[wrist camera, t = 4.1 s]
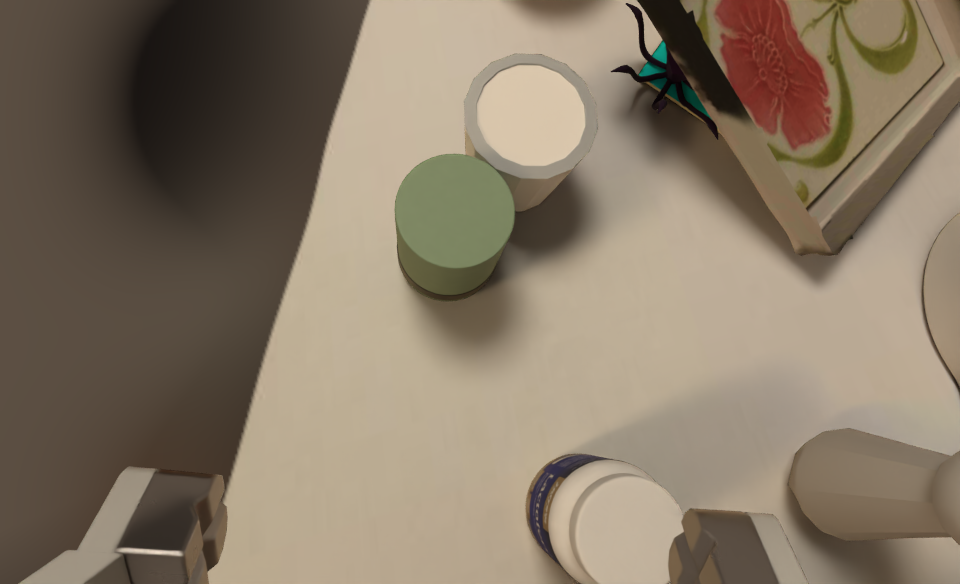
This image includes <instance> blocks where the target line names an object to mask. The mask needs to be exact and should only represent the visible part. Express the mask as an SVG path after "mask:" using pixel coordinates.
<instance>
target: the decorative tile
mask: <svg viewBox="0 0 960 584" xmlns="http://www.w3.org/2000/svg"><path fill="white" fill-rule="evenodd" d="M637 1H638V2H639V3H640V5H641V6H642V8H643V9H644V11H645V12H646V14H647V15H648V17H649V18H650V20H651V21H652V23H653V25H654V26H655V28H656V30H657V31H658V33H659V34H660V36H661V37H662V39H663V41H664V43H665V44H666V46H667V48H668V49H669V51H670V53H671V54H672V56H673V58H674V60H675V61H676V63H677V64H678V65H679V67H680V68H681V70H682V72H683V73H684V75H685V76H686V78H687V80H688V81H689V83H690V84H691V86H692V88H693V89H694V91H695V93H696V94H697V96H698V98H699V100H700V101H701V103H702V104H703V106H704V108H705V109H706V111H707V113H708V114H709V116H710V118H711V119H712V120H713V121H714V122H715V124H716V126H717V128H718V129H719V131H720V133H721V134H722V136H723V137H724V138H725V140H726V142H727V143H728V145H729V147H730V148H731V150H732V151H733V153H734V154H735V155H736V157H737V158H738V160H739V161H740V163H741V165H742V166H743V168H744V169H745V171H746V172H747V174H748V176H749V177H750V179H751V180H752V182H753V184H754V185H755V187H756V189H757V190H758V192H759V193H760V195H761V197H762V198H763V200H764V202H765V203H766V205H767V206H768V208H769V210H770V211H771V212H772V214H773V215H774V216H775V218H776V219H777V220H778V222H779V223H780V225H781V226H782V227H783V229H784V230H785V232H786V233H787V235H788V237H789V238H790V241H791V243H792V246H793V249H794V252H795V253H796V254H798V255H801V256H802V255H806V254H819V255H828V256H831V255H838V253H839V252H840V251H841V250H842V248H843V246H844V245H845V244H846V242H847V241H848V240H849V239H853V236H852V235H853V234H854V233H855V231H856V230H857V228H858V227H859V226H860V225H861V224H862V223H863V221H864V220H865V219H866V218H867V216H868V215H869V214H870V212H871V211H872V210H873V209H874V207H875V206H876V205H877V204H878V202H879V201H880V199H881V198H882V197H883V196H884V195H885V194H886V193H887V191H888V190H889V189H890V188H891V187H892V185H893V184H894V182H895V181H896V180H897V178H898V177H899V176H900V175H901V173H902V172H903V171H904V170H905V169H906V167H907V166H908V165H909V164H910V162H911V161H912V160H913V159H914V157H915V156H916V155H917V154H918V152H919V151H920V150H921V149H922V147H923V146H924V145H925V144H926V143H927V141H928V140H930V139H931V138H933V137H934V136H932V134H933V133H934V132H935V131H936V130H937V128H938V127H939V126H940V125H941V123H942V122H943V121H944V119H945V118H946V117H947V115H948V114H949V113H950V112H951V110H952V109H953V108H954V107H955V105H956V104H957V103H958V102H959V100H960V0H637Z"/></svg>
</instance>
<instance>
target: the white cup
mask: <svg viewBox="0 0 960 584" xmlns="http://www.w3.org/2000/svg"><path fill="white" fill-rule="evenodd" d="M464 121H465V151H466V155H468V156H472V157H475V158H477V159H480V160H482V161H484V162H485V163H487V164H489V165H490V166H491V167H493V168H494V169H495V170H496V171H497V172H498V173H499V174H500V175H501V176H502V177H503V179H504V180H505V181H506V183H507V185H508V187H509V188H510V191H511V193H512V196H513V200H514V204H515V211H525V210H527V209H530V208H532V207H535V206H537V205H540V204H541V202H542V201H543V200H544V199H545V198H546V197H547V196H548V195H549V194H550V193H551V192H552V191H553V190H554V189H555V188H556V187H557V186H558V185H559V184H560V183H561V181H562V180H563V179H564V178H565V177H566V176H567V175H568V174H569V173H570V172H571V171H572V170H573V169H574V167H575V166H576V165H577V164H578V163H579V162H580V161H581V160H582V159H583V158H584V157H585V156H586V154H587V153H588V152H589V151H590V148H591V146H592V143H593V140H594V137H595V135H596V132H597V129H598V123H597V109H596V102H595V101H594V99H593V97H592V95H591V93H590V91H589V89H588V87H587V85H586V83H585V81H584V80H583V79H582V78H581V77H579V76H578V75H577V74H576V73H575V72H574V71H573V70H572V69H571V68H569V67H568V66H567V65H566V64H564V63H562V62H559V61H557V60H554V59H552V58H549V57H547V56H544V55H542V54H513V55H510V56H507V57H505V58H502V59H499V60H496V61H494V62H491V63H490V64H489V65H488V66H487V67H486V68H485V69H484V70H483V71H482V72H480V73H479V74H478V75H477V76H476V77H475V78H474V79H473V81H472V84H471V86H470V88H469V91H468V93H467V95H466V98H465V100H464Z"/></svg>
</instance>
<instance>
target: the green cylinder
mask: <svg viewBox="0 0 960 584" xmlns="http://www.w3.org/2000/svg"><path fill="white" fill-rule="evenodd" d="M395 221H396V232H397V253H398V261H399V265H400V268H401V270H402V272H403V274H404V276H405V278H406V279H407V281H408V282H409V284H410V285H411V286H412V287H413V288H414V289H416V290H417V291H418V292H419V293H421V294H423V295H424V296H426V297H429V298H431V299H434V300H439V301H457V300H461V299H464V298H467V297H469V296H471V295H473V294H474V293H476V292H477V291H479V290H480V289H481V288H482V287H483V286H484V285H485V284H486V283H487V282H488V280H489V279H490V277H491V276H492V274H493V272H494V270H495V267H496V265H497V262H498V259H499V257H500V255H501V253H502V251H503V249H504V247H505V245H506V243H507V241H508V239H509V237H510V235H511V233H512V229H513V226H514V221H515V204H514V200H513V196H512V193H511V191H510V188H509V187H508V185H507V183H506V181H505V180H504V179H503V177H502V176H501V175H500V174H499V173H498V172H497V171H496V170H495V169H494V168H493V167H491V166H490V165H489V164H487V163H485V162H484V161H482V160H480V159H477V158H475V157H472V156H468V155H463V154H445V155H439V156H436V157H432V158H430V159H428V160H426V161H424V162H422V163H420V164H419V165H417V166H416V167H415V168H414V169H413V170H412V171H411V172H410V173H409V174H408V175H407V176H406V177H405V179H404V180H403V182H402V184H401V186H400V188H399V190H398V193H397V196H396V201H395Z"/></svg>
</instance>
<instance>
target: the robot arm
mask: <svg viewBox="0 0 960 584" xmlns="http://www.w3.org/2000/svg"><path fill="white" fill-rule="evenodd" d="M923 292H924V306H925V312H926V317H927V321H928V325H929V328H930V331H931V334H932V337H933V339H934V342H935V344H936V346H937V348H938V351H939V353H940V354H941V356H942V358H943V360H944V361H945V363H946V365H947V366H948V368H949V369H950V371H951V373H952V374H953V376H954V377H955V379H956V381H957V383H958V385H959V387H960V213H959V214H957V215H956V216H955V217H954V218H953V219H951V220H950V221H949V222H948V224H947V225H946V226H945V227H944V228H943V230H942V231H941V232H940V234H939V235H938V237H937V238H936V240H935V242H934V244H933V246H932V249H931V251H930V254H929V257H928V260H927V264H926V268H925V274H924V287H923ZM223 492H224V483H223V477H222V476H221V475H215V474H203V473H194V472H184V471H174V470H164V469H151V468H140V467H128V468H126V470H124V471H123V472H122V473H121V474H120V475H119V477H118V479H117V481H116V482H115V484H114V486H113V488H112V489H111V491H110V493H109V495H108V496H107V498H106V500H105V502H104V504H103V505H102V507H101V509H100V511H99V512H98V514H97V516H96V518H95V520H94V521H93V523H92V525H91V527H90V528H89V530H88V532H87V534H86V535H85V537H84V539H83V541H82V542H81V544H80V546H79V548H78V549H77V550H67V551H65V552H64V553H62V554H61V555H59V556H58V557H57V558H55V559H54V560H52V561H51V562H50V563H48V564H46V565H45V566H44V567H42V568H41V569H39V570H38V571H36V572H35V573H33V574H32V575H30V576H29V577H28V578H26V579H25V580H23V581H22V582H20V583H19V584H209V581H208V574H207V572H208V571H209V570H210V569H211V568H212V567H214V566H215V565H216V564H217V563H218V562H219V559H220V556H221V553H222V550H223V546H224V541H225V536H226V531H227V518H228V516H227V507H226V506H225V505H224V504H223V503H222V502H221V501H220V500H221V497H222V494H223ZM681 523H682V526H683V529H684V532H682V533H681V534H679V535H678V536H676V537H675V538H674V539H673V542H672V544H671V547H670V550H669V560H668V569H669V577H670V581H671V584H809V583H808V581H807V579H806V577H805V574H804V572H803V570H802V568H801V566H800V564H799V562H798V560H797V558H796V556H795V554H794V552H793V549H792V547H791V545H790V543H789V541H788V539H787V537H786V535H785V533H784V531H783V529H782V527H781V524H780V522H779V520H778V519H777V518H776V517H775V516H774V515H773V514H762V513H748V512H744V513H743V512H741V511H725V510H708V509H689V510H688V511H687V512H685V515H684V517H683V519H682V521H681Z"/></svg>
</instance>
